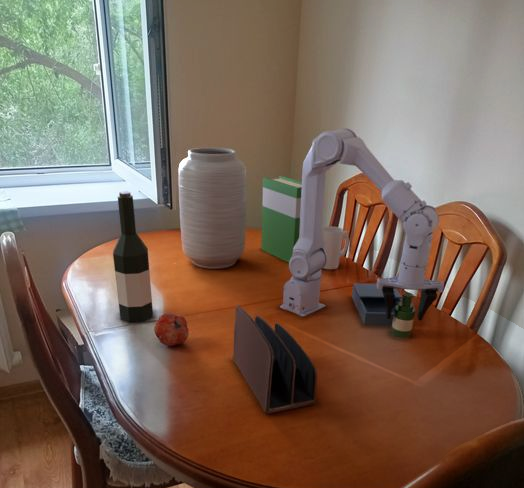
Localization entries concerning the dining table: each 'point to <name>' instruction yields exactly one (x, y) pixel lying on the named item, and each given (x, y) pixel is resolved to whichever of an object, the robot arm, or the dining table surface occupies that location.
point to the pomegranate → (171, 329)
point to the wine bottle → (131, 267)
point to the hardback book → (281, 216)
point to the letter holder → (273, 364)
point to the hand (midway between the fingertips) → (403, 317)
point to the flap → (372, 291)
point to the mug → (334, 245)
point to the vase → (212, 207)
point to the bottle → (403, 317)
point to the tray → (373, 309)
